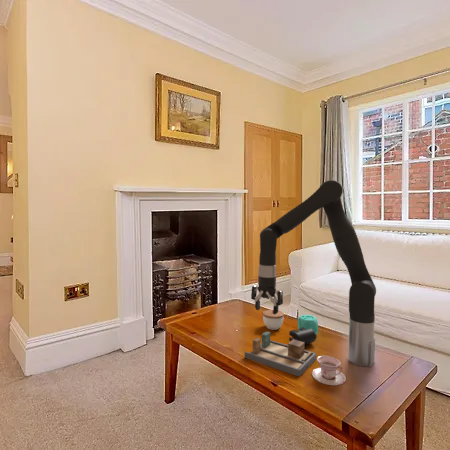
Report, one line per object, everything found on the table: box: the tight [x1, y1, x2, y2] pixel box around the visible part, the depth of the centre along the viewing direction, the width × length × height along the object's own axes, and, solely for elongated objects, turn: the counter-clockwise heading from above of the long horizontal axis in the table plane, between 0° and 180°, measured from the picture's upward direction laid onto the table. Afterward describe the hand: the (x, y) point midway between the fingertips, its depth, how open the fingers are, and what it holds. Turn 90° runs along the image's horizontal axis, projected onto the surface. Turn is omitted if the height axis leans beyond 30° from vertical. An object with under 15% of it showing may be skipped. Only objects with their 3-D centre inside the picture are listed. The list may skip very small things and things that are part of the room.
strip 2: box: [261, 331, 313, 362], centre depth 132 cm, size 20×8×6 cm, turn 54°
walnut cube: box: [287, 338, 306, 359], centre depth 129 cm, size 5×5×5 cm
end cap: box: [288, 327, 317, 346], centre depth 143 cm, size 10×7×7 cm
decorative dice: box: [297, 314, 319, 335], centre depth 156 cm, size 8×8×8 cm
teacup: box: [311, 355, 347, 386], centre depth 117 cm, size 12×12×6 cm
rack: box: [244, 339, 317, 377], centre depth 130 cm, size 24×17×2 cm
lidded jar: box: [262, 309, 285, 331], centre depth 163 cm, size 11×11×9 cm
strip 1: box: [252, 337, 302, 369], centre depth 126 cm, size 20×5×6 cm, turn 54°
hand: (266, 311), depth 137 cm, fingers open, 8 cm apart
